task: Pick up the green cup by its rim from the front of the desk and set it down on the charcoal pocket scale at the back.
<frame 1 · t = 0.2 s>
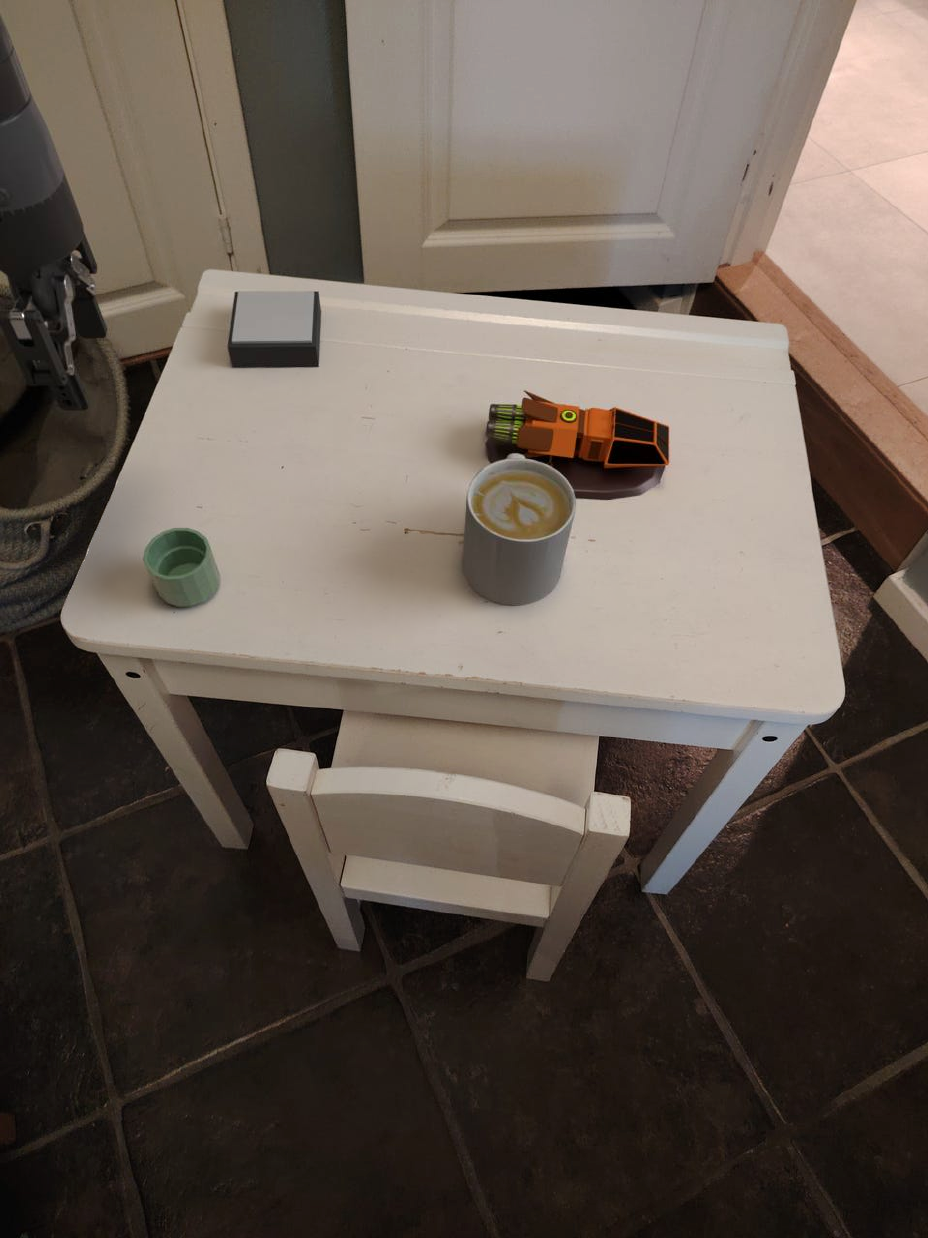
hand: (86, 370, 68), 20 cm above the table, tool pointing down, fingers open, 8 cm apart
green cup: (189, 584, 81), on the table
coffee mug: (514, 552, 85), on the table
toy spacecraft: (574, 456, 92), on the table
scale: (278, 339, 100), on the table
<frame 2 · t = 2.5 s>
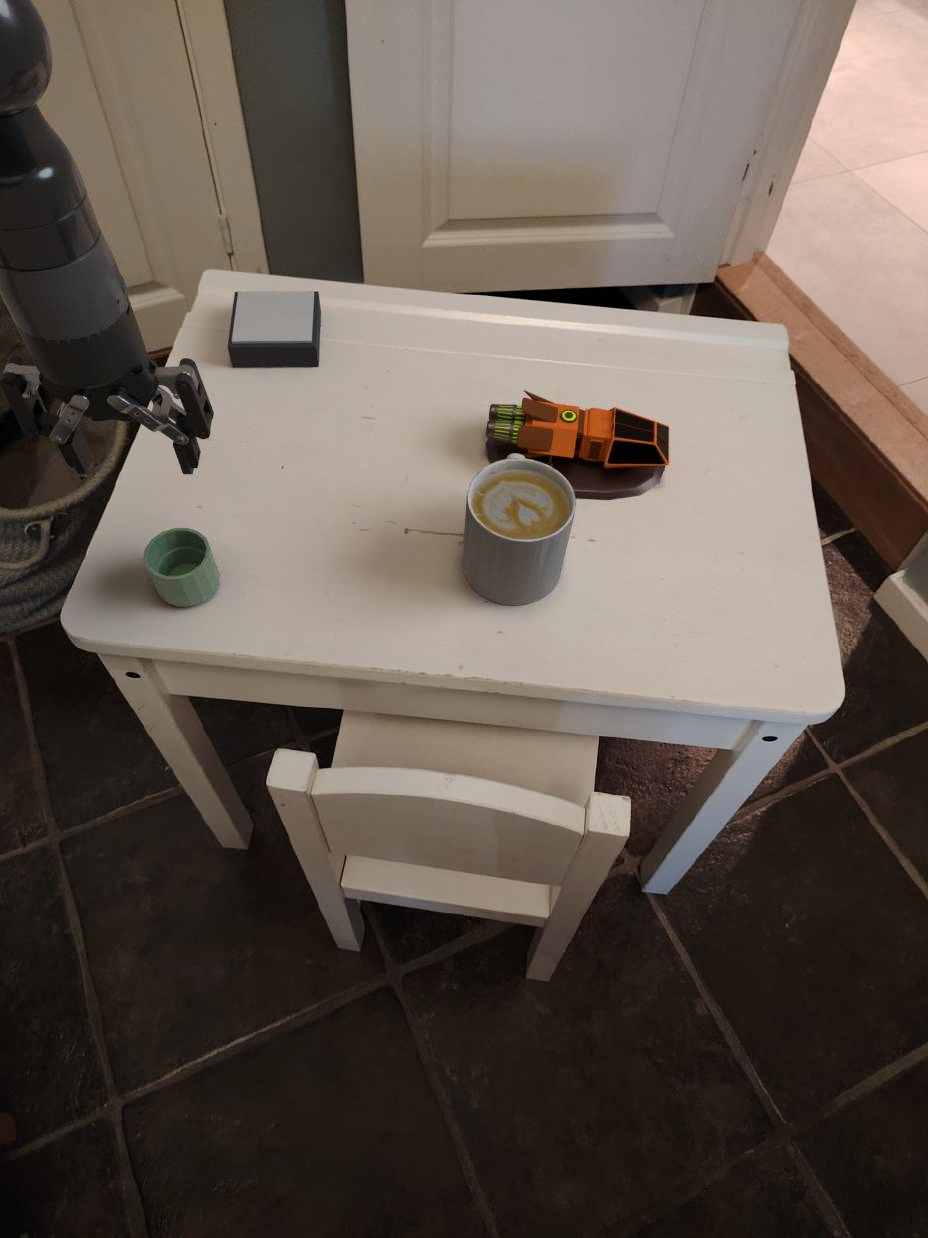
hand: (138, 466, 70), 14 cm above the table, tool pointing down, fingers open, 8 cm apart
nothing on the table moved.
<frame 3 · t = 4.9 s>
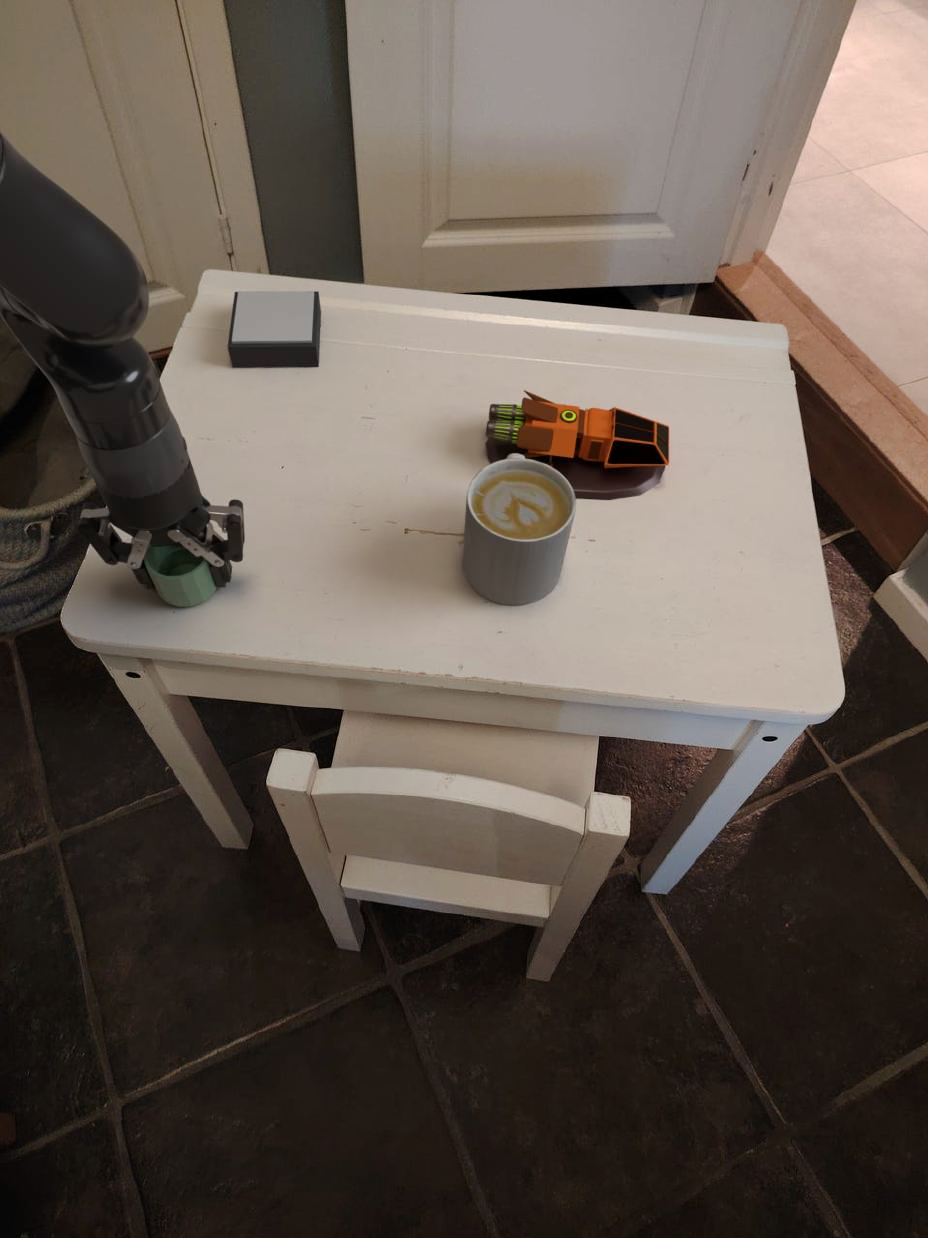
hand: (188, 580, 80), 1 cm above the table, tool pointing down, fingers closed on green cup, 6 cm apart
green cup: (189, 584, 81), on the table, touching gripper
everything else where it was.
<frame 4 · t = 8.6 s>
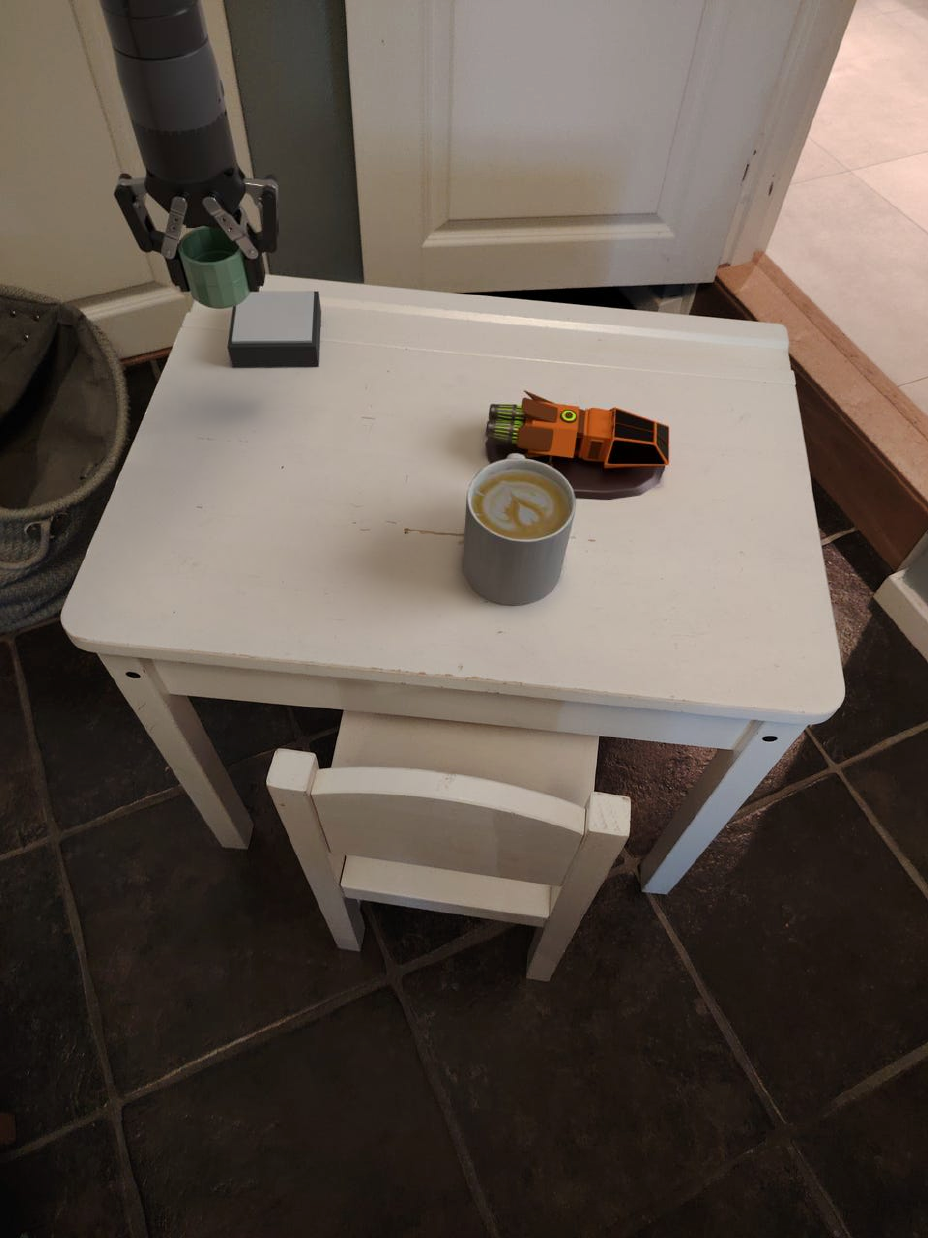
hand: (221, 286, 80), 16 cm above the table, tool pointing down, fingers closed on green cup, 6 cm apart
green cup: (222, 291, 80), point 16 cm above the table, touching gripper
everything else where it was.
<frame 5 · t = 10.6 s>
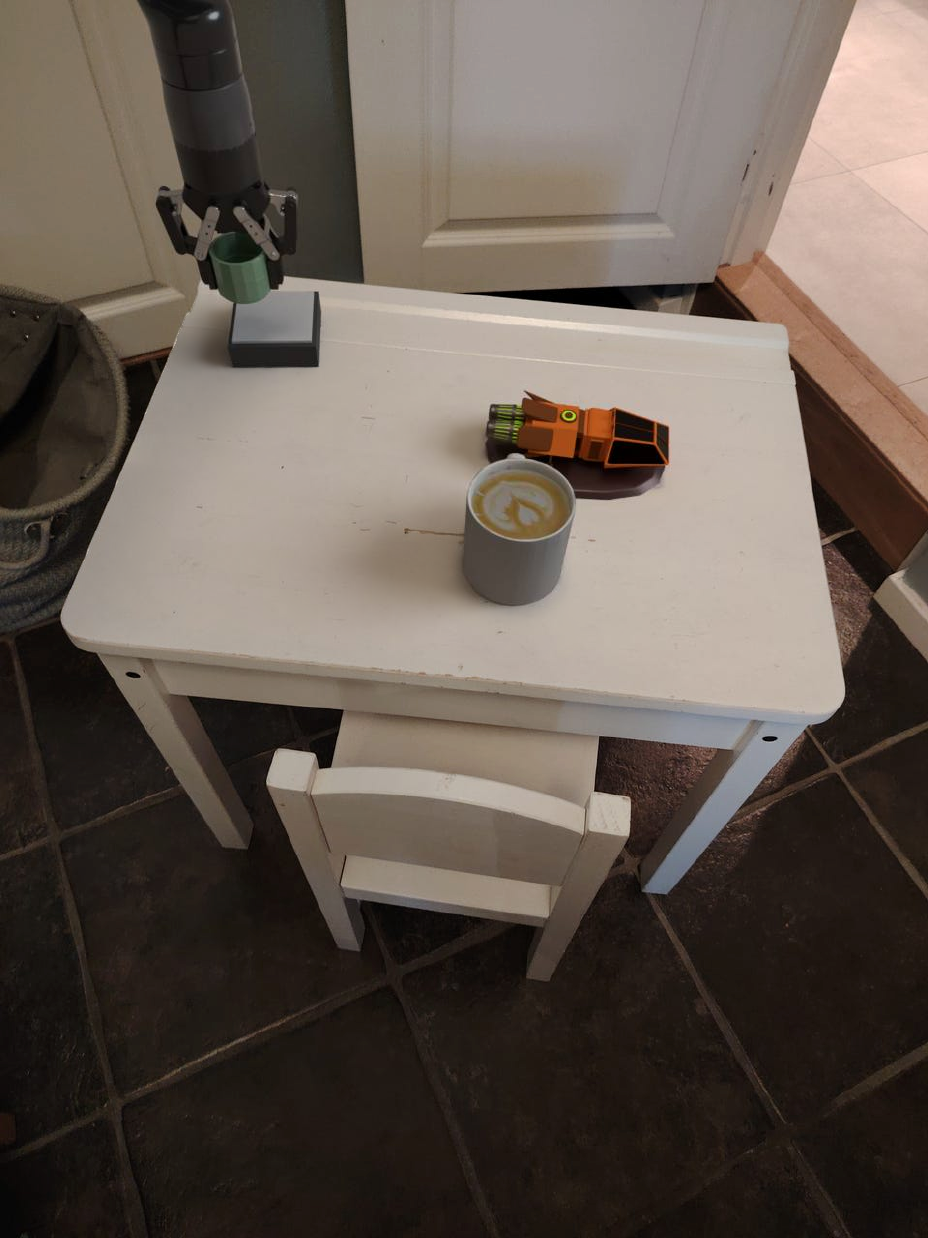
hand: (245, 284, 91), 10 cm above the table, tool pointing down, fingers closed on green cup, 6 cm apart
green cup: (246, 289, 91), point 9 cm above the table, touching gripper
everything else where it was.
when the fingers open (4 cm above the table, at t = 12.5 s): green cup stays where it is, resting on scale.
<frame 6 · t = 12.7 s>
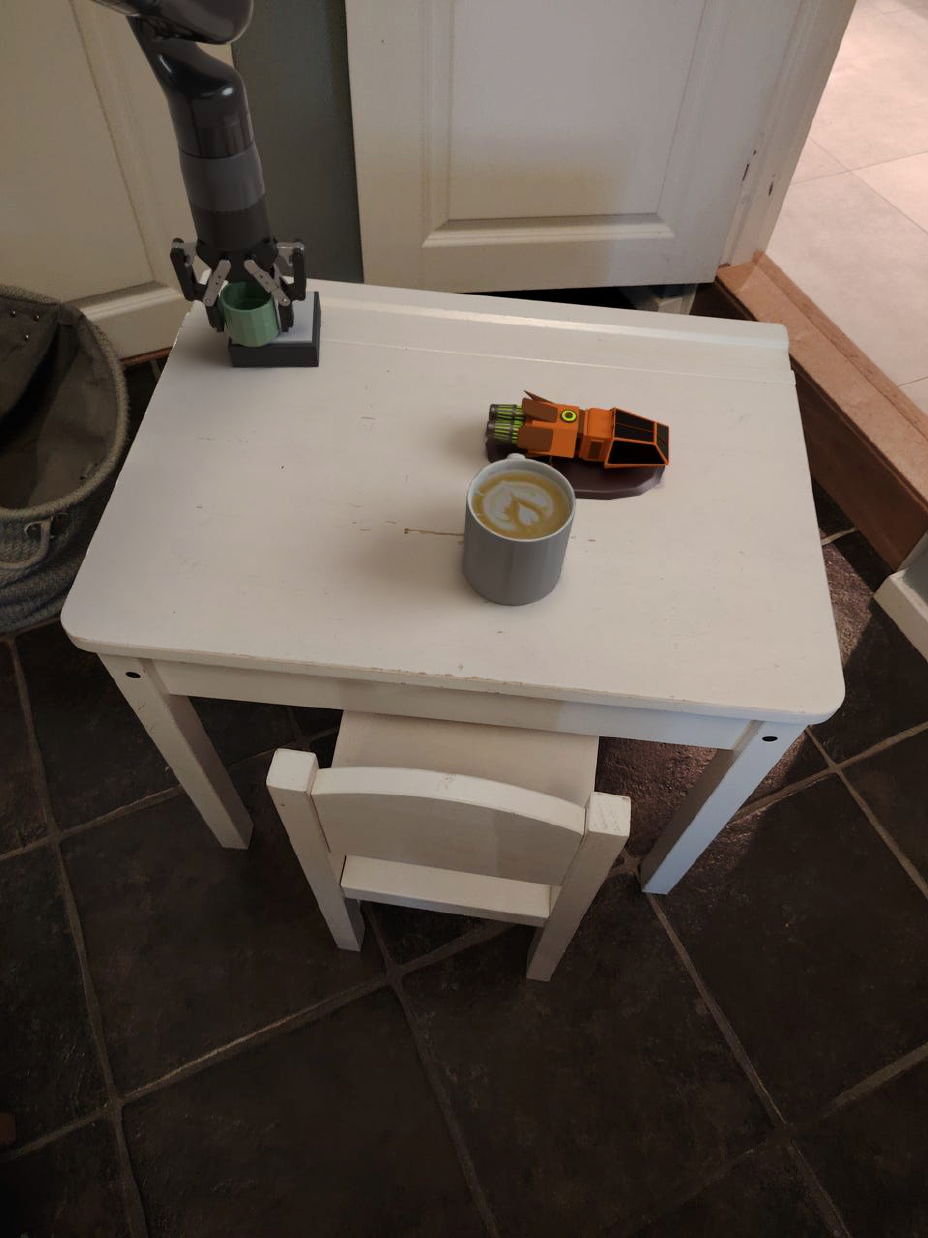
hand: (254, 327, 95), 4 cm above the table, tool pointing down, fingers open, 6 cm apart
green cup: (254, 332, 96), point 3 cm above the table, touching scale
everything else where it was.
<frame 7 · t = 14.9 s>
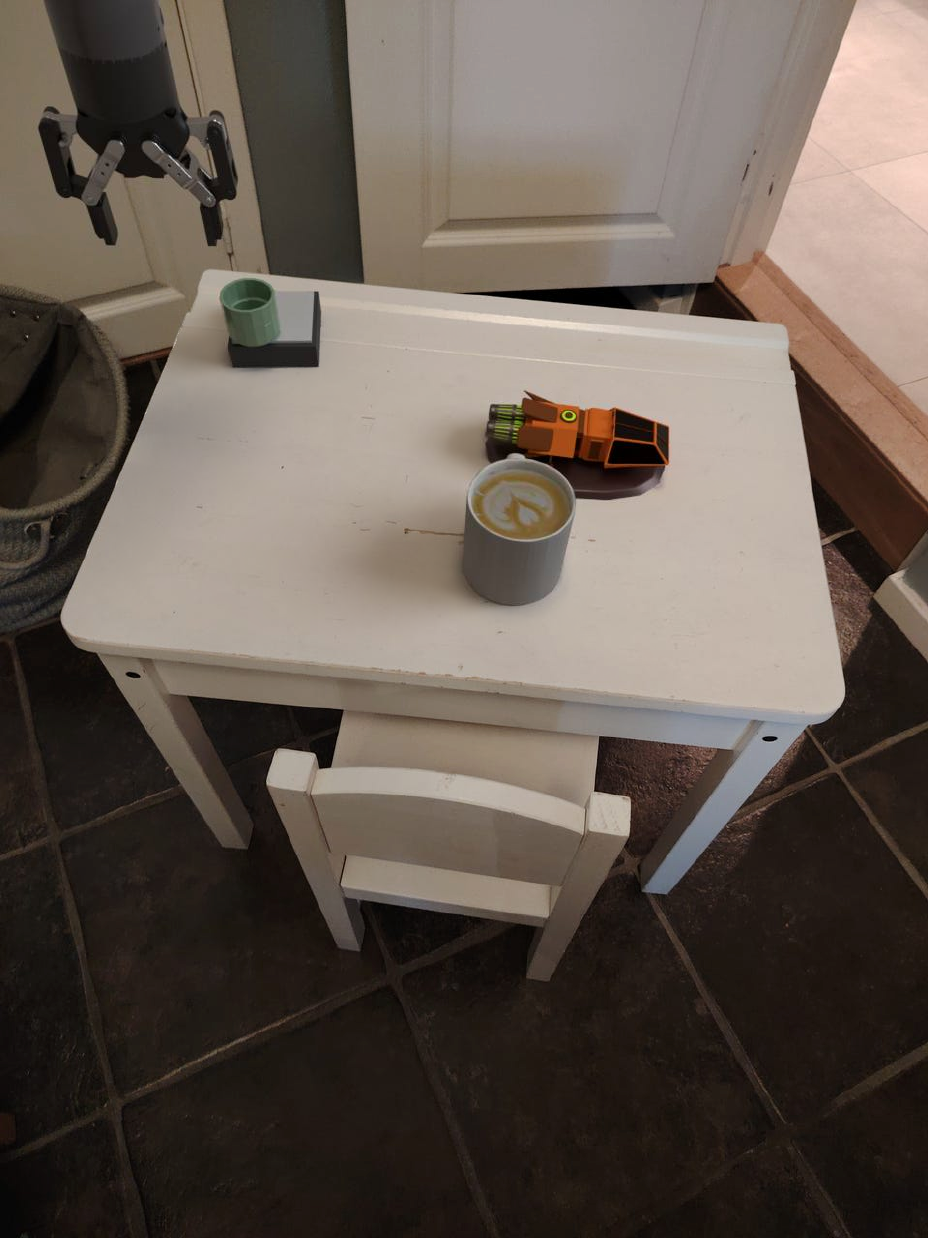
hand: (163, 240, 73), 23 cm above the table, tool pointing down, fingers open, 8 cm apart
nothing on the table moved.
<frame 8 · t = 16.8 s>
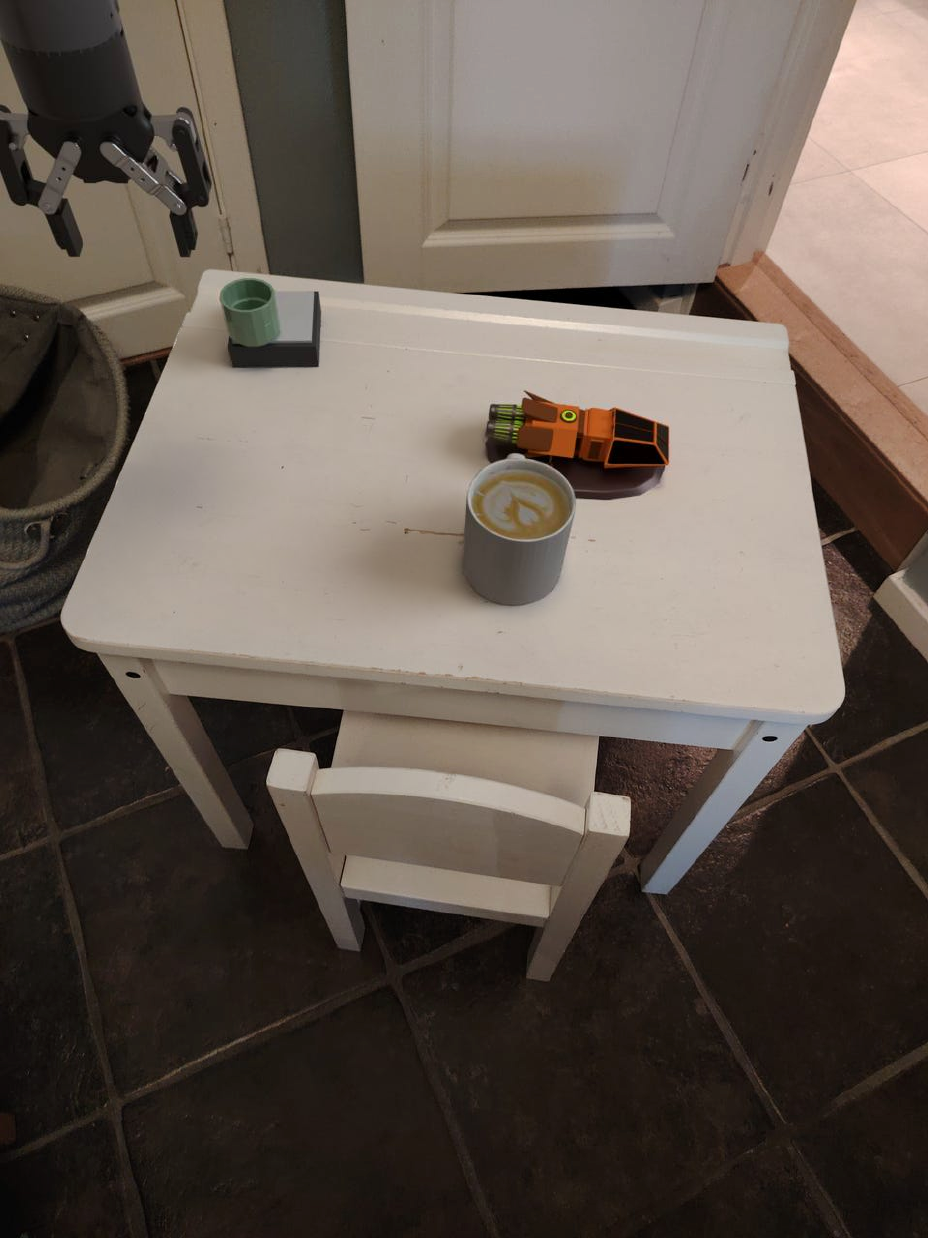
hand: (132, 251, 66), 26 cm above the table, tool pointing down, fingers open, 8 cm apart
nothing on the table moved.
at the end: green cup inside the target area on the scale (3.2 cm from its centre), point 3.4 cm above the scale's base; green cup tilted 0°; the gripper is holding nothing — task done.
